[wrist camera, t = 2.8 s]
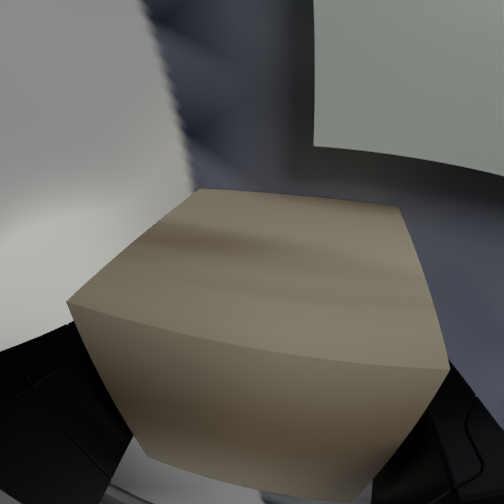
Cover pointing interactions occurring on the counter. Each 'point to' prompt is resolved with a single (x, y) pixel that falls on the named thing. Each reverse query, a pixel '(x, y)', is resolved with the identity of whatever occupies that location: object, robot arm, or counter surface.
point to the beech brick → (268, 340)
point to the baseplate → (412, 79)
